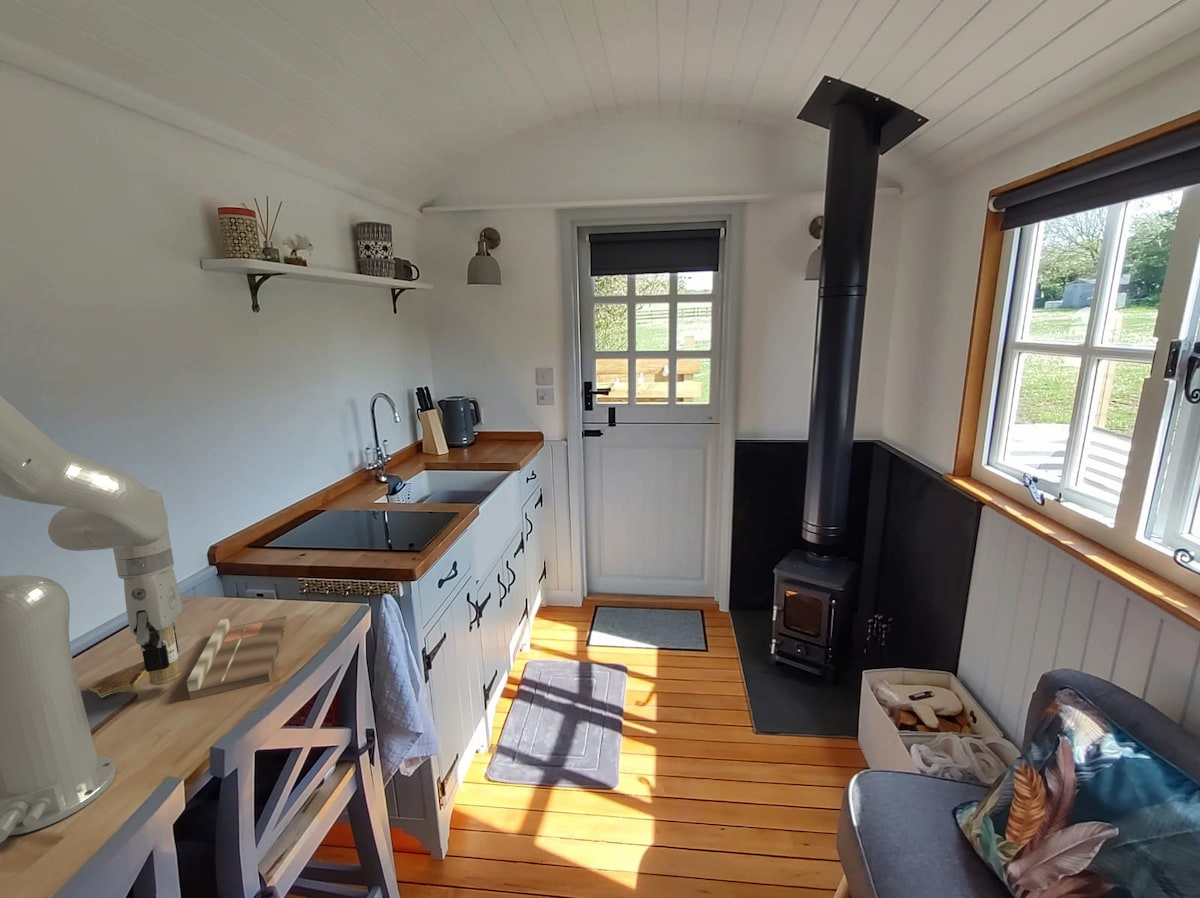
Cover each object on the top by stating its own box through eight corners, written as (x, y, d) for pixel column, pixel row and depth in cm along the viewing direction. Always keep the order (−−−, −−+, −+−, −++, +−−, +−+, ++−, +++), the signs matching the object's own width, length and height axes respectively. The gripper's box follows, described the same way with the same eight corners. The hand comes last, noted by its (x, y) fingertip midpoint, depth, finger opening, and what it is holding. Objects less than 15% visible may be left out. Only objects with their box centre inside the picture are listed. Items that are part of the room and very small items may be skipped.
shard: (159, 661, 110) (157, 653, 110) (176, 672, 106) (174, 663, 106) (88, 691, 101) (86, 682, 101) (104, 704, 97) (102, 695, 97)
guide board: (269, 681, 101) (266, 663, 100) (190, 699, 96) (186, 681, 96) (287, 622, 123) (284, 607, 122) (223, 635, 118) (220, 619, 118)
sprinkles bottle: (154, 689, 96) (141, 614, 94) (146, 681, 98) (132, 609, 96) (186, 676, 99) (173, 604, 97) (177, 669, 102) (164, 599, 100)
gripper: (154, 574, 89) (173, 680, 92) (186, 545, 105) (201, 637, 107) (95, 583, 86) (116, 692, 89) (137, 552, 102) (154, 646, 105)
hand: (162, 661), depth 98 cm, fingers closed on sprinkles bottle, 4 cm apart
